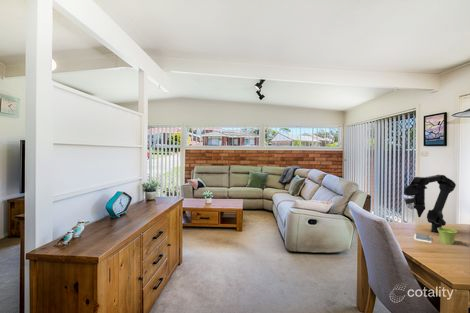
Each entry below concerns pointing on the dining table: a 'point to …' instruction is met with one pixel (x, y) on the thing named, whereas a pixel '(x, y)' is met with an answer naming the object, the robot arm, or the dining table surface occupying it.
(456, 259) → the dining table surface
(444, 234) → the plant pot
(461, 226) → the dining table surface
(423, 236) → the slate tile
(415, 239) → the white rectangular board
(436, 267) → the dining table surface
